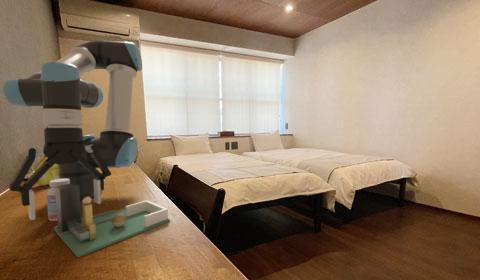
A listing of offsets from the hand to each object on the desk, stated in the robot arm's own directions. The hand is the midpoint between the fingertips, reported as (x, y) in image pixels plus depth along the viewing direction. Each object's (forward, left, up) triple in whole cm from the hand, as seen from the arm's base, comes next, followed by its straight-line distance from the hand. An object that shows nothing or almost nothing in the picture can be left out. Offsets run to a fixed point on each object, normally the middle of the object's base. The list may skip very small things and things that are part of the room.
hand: (67, 209), depth 57 cm
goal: (+9, +16, -6) cm, 19 cm away
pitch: (+6, +9, -6) cm, 12 cm away
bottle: (-61, +9, -6) cm, 62 cm away
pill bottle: (-12, +1, -6) cm, 14 cm away
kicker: (+5, 0, -5) cm, 7 cm away
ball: (+9, +9, -3) cm, 13 cm away
